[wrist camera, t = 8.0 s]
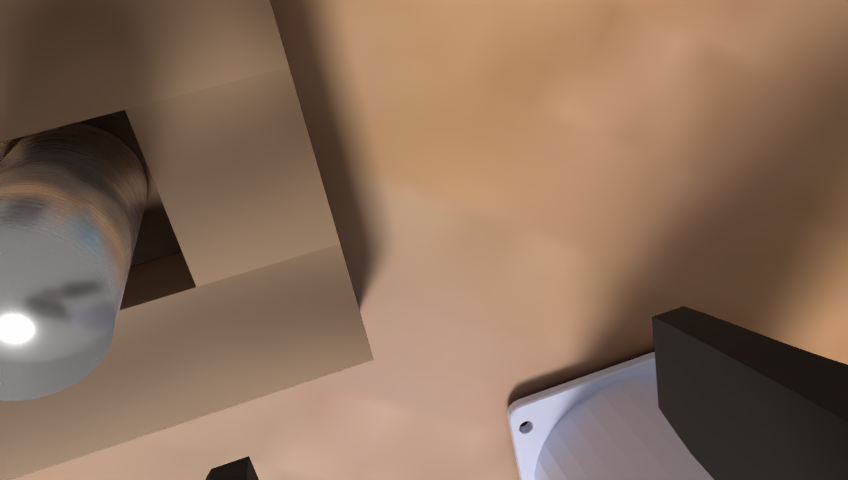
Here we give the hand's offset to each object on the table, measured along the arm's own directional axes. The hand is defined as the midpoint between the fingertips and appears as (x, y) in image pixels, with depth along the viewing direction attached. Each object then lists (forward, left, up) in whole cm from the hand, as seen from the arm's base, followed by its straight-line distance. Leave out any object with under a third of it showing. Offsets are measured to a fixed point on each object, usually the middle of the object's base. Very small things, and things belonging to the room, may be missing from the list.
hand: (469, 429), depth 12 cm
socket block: (+3, +7, -10) cm, 12 cm away
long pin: (+3, +7, -10) cm, 13 cm away
